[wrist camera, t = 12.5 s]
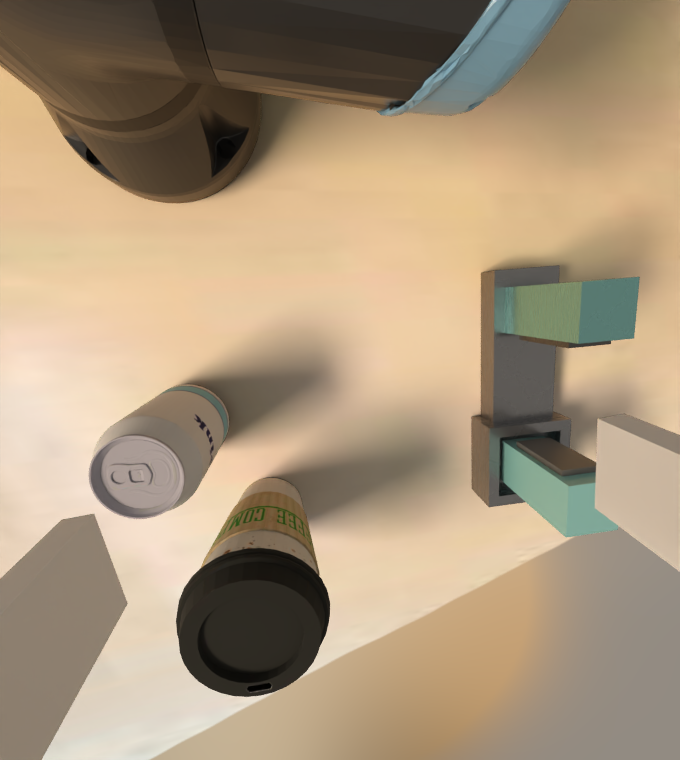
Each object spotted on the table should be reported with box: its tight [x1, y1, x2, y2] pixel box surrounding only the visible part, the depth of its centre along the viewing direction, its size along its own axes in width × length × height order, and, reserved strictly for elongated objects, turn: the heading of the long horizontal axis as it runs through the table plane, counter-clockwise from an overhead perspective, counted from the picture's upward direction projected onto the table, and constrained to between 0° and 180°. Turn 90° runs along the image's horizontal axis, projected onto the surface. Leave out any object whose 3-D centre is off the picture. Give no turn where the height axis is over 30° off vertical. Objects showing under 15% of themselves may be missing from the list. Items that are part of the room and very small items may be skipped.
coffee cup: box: [176, 478, 330, 697], centre depth 29 cm, size 10×10×15 cm
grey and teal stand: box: [472, 266, 640, 507], centre depth 31 cm, size 22×8×11 cm, turn 5°
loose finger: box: [501, 436, 618, 537], centre depth 31 cm, size 5×4×9 cm
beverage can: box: [89, 384, 229, 519], centre depth 28 cm, size 7×7×12 cm
